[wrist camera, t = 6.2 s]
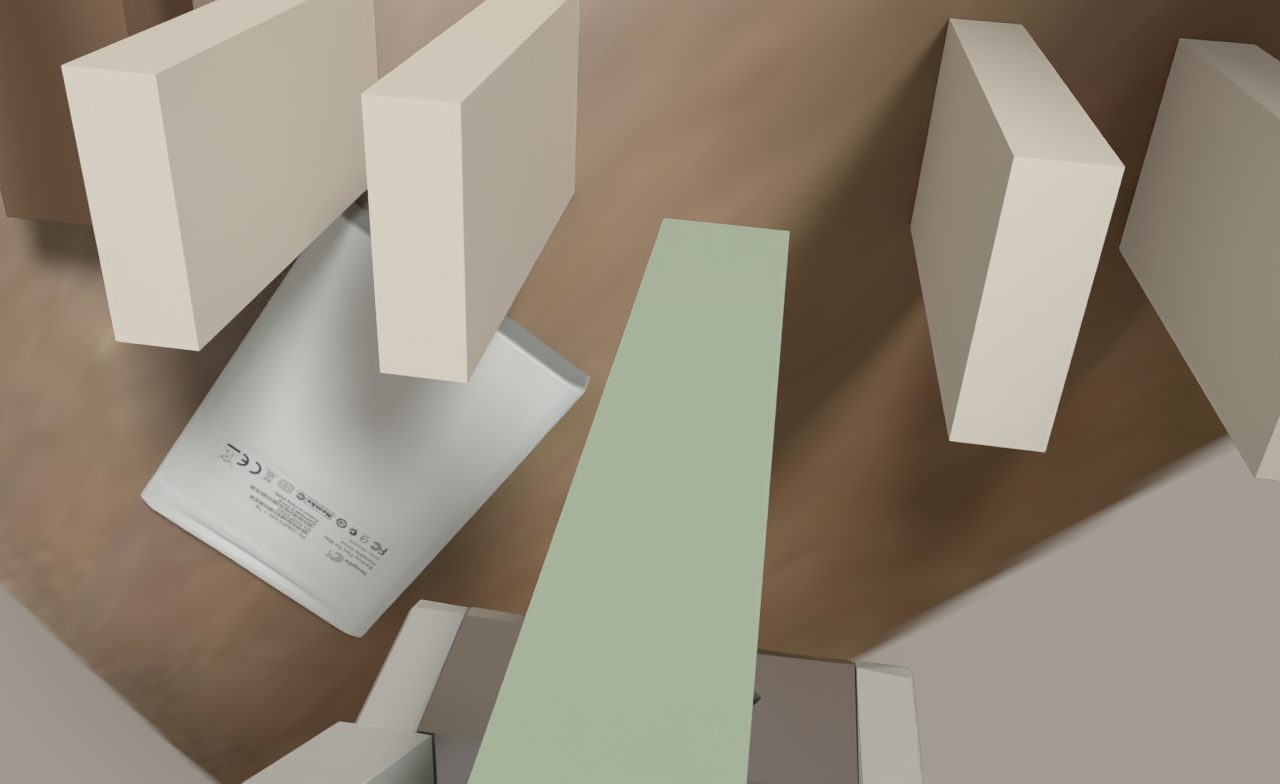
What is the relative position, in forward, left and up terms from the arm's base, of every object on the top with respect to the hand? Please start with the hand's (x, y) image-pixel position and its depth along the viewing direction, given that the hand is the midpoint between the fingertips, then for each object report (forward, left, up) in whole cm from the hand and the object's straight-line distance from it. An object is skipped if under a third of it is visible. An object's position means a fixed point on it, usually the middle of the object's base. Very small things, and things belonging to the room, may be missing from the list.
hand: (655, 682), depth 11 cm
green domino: (0, 0, -6) cm, 6 cm away
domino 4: (-7, +7, -19) cm, 21 cm away
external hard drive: (+15, 0, -20) cm, 25 cm away
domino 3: (-3, +3, -19) cm, 20 cm away
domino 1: (+7, -7, -19) cm, 22 cm away
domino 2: (+4, -4, -19) cm, 20 cm away
